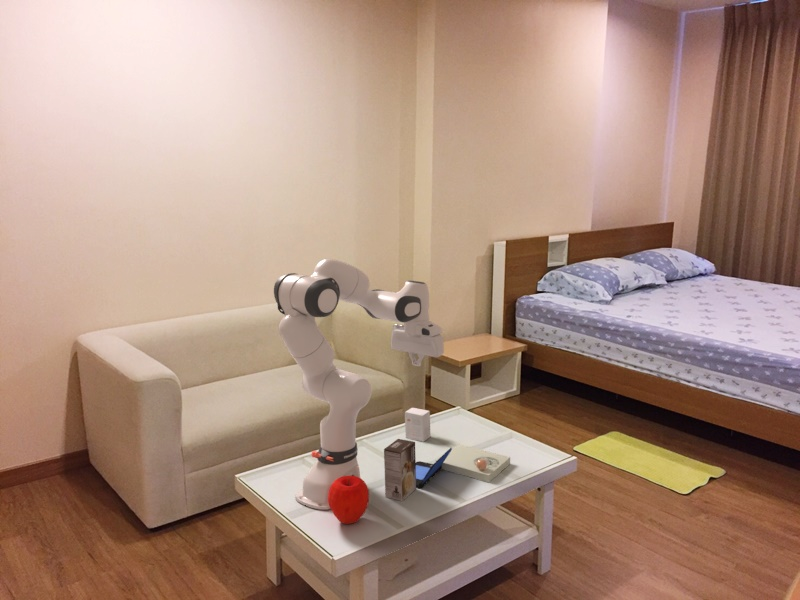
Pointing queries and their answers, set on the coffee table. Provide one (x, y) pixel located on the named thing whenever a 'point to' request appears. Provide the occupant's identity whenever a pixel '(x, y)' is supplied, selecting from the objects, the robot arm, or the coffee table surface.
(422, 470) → the handheld game console
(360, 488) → the apple
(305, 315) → the robot arm
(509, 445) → the coffee table surface
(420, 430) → the small box
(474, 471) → the beige flat block
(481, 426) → the coffee table surface
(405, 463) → the coffee box
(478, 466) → the terracotta ball
